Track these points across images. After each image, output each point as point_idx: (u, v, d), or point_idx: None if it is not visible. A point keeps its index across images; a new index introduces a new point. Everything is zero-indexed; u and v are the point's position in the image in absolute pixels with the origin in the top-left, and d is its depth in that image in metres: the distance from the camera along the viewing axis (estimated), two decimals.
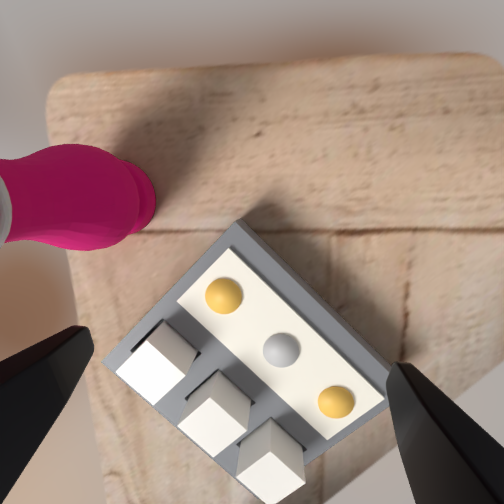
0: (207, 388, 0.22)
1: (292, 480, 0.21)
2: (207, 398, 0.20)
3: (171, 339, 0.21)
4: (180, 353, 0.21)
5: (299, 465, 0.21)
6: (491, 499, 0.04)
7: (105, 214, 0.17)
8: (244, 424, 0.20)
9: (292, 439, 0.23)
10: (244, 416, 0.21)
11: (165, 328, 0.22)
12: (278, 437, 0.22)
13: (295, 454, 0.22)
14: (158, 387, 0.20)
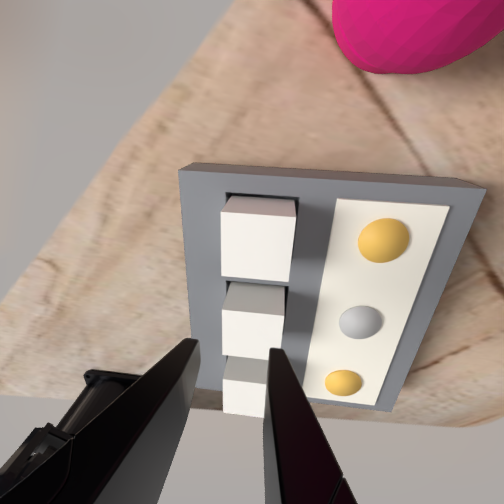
0: (270, 297, 0.18)
1: None
2: (280, 315, 0.16)
3: None
4: None
5: None
6: (277, 468, 0.05)
7: (490, 30, 0.09)
8: None
9: None
10: None
11: None
12: None
13: None
14: (248, 267, 0.15)
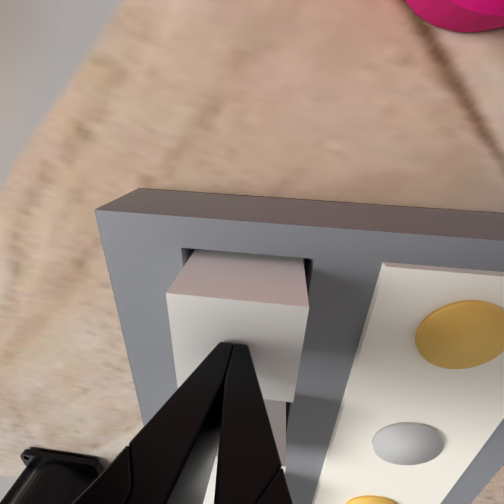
0: None
1: None
2: None
3: None
4: None
5: None
6: (219, 459, 0.05)
7: None
8: None
9: None
10: None
11: None
12: None
13: None
14: None
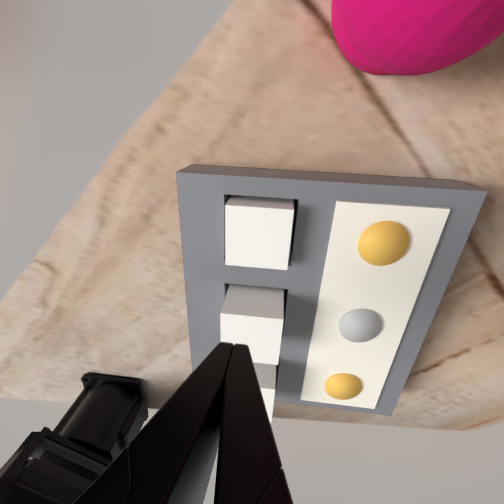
0: (269, 301, 0.18)
1: None
2: (279, 319, 0.16)
3: None
4: None
5: None
6: (219, 459, 0.05)
7: (491, 31, 0.09)
8: (278, 358, 0.18)
9: None
10: None
11: None
12: None
13: None
14: (250, 256, 0.16)
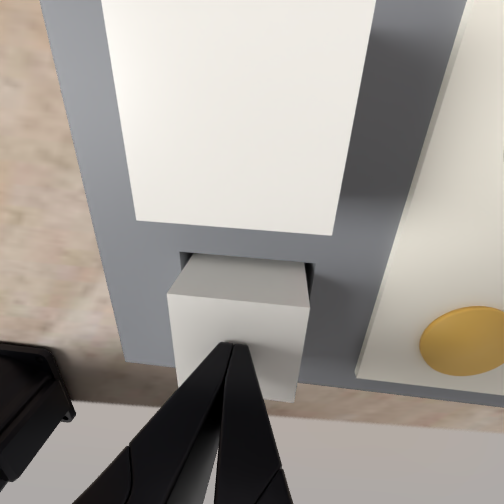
0: None
1: (277, 383, 0.08)
2: None
3: None
4: None
5: None
6: (218, 459, 0.05)
7: None
8: (332, 214, 0.05)
9: None
10: None
11: None
12: None
13: None
14: None
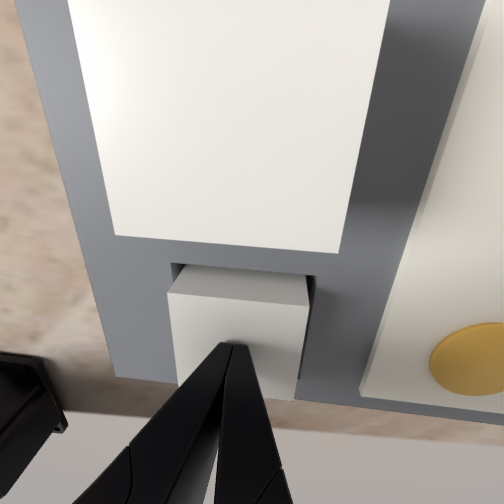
0: None
1: (276, 382, 0.08)
2: None
3: None
4: None
5: None
6: (219, 459, 0.05)
7: None
8: (338, 229, 0.05)
9: None
10: None
11: None
12: None
13: None
14: None
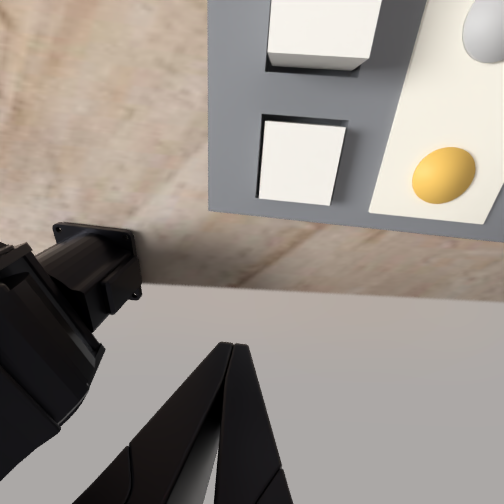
0: None
1: (321, 189, 0.14)
2: None
3: None
4: None
5: None
6: (219, 459, 0.05)
7: None
8: (369, 50, 0.10)
9: None
10: None
11: None
12: None
13: None
14: None
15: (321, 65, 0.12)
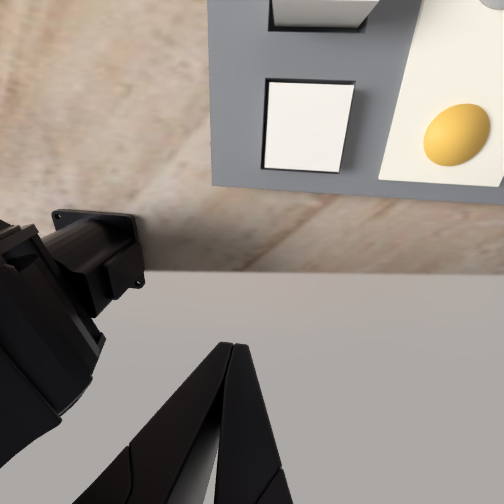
0: None
1: (329, 154, 0.14)
2: None
3: None
4: None
5: None
6: (219, 459, 0.05)
7: None
8: None
9: None
10: None
11: None
12: None
13: None
14: None
15: (327, 19, 0.12)
